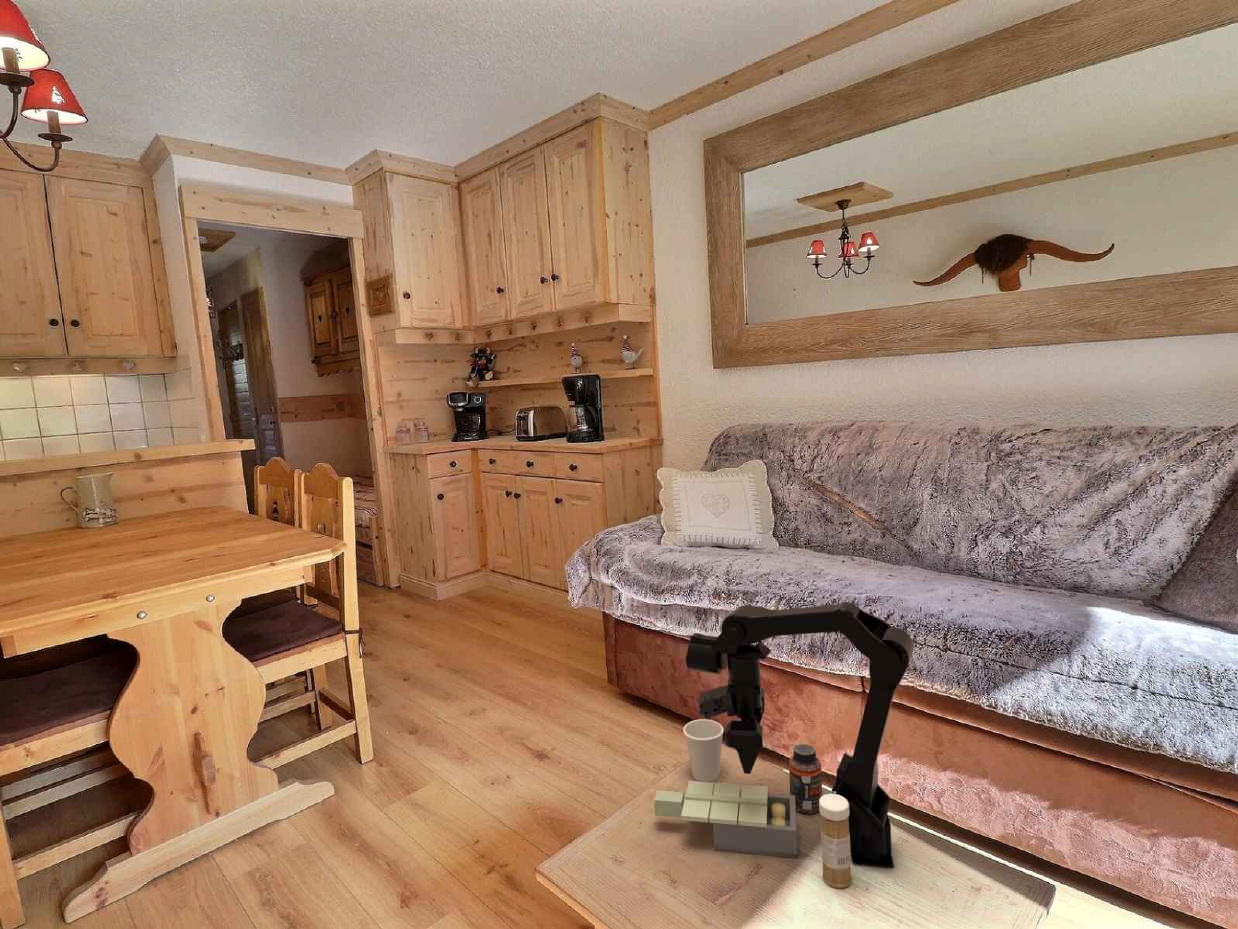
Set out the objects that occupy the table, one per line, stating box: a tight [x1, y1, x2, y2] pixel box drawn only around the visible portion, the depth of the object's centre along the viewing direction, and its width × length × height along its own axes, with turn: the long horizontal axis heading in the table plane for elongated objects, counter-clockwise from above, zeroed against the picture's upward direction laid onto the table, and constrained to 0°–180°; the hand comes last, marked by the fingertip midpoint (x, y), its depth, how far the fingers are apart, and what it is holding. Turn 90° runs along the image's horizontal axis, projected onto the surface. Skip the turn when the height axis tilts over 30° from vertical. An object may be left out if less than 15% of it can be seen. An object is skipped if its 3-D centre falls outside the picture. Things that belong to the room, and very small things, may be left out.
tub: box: [712, 790, 799, 859], centre depth 118 cm, size 14×10×5 cm
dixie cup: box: [682, 718, 724, 783], centre depth 137 cm, size 8×8×10 cm
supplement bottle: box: [788, 743, 823, 815], centre depth 125 cm, size 6×6×11 cm
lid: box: [653, 780, 769, 828], centre depth 119 cm, size 20×11×4 cm, turn 76°
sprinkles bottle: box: [818, 793, 853, 889], centre depth 105 cm, size 5×5×14 cm
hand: (748, 759), depth 121 cm, fingers open, 9 cm apart
